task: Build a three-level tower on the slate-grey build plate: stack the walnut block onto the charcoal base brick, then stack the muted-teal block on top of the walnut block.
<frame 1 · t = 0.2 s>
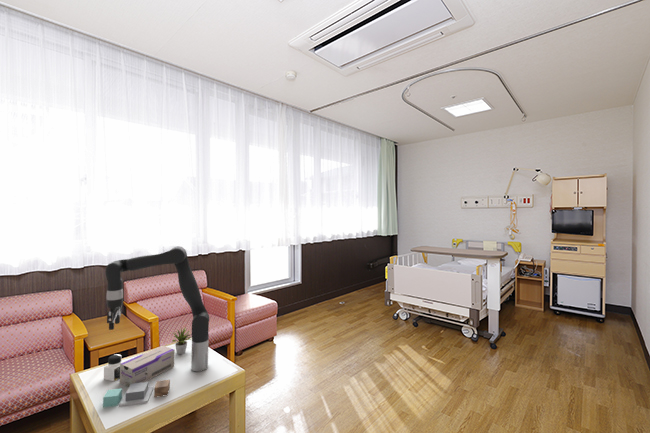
hand: (114, 326, 166), 29 cm above the table, fingers open, 8 cm apart
teal block: (112, 402, 147), on the table
surgical sutures box: (148, 375, 172), on the table
medicine bottle: (114, 377, 168), on the table
house plant: (179, 353, 197), on the table
build plate: (137, 396, 152), on the table
walnut block: (162, 393, 156), on the table
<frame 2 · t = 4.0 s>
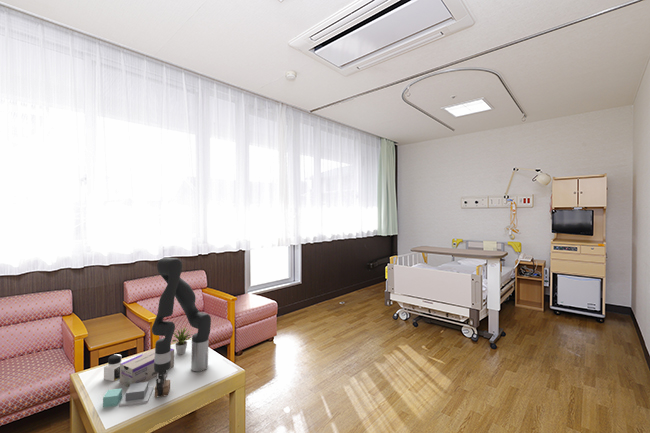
hand: (161, 391, 156), 1 cm above the table, fingers closed on walnut block, 6 cm apart
walnut block: (162, 392, 156), on the table, touching gripper
everything else where it was.
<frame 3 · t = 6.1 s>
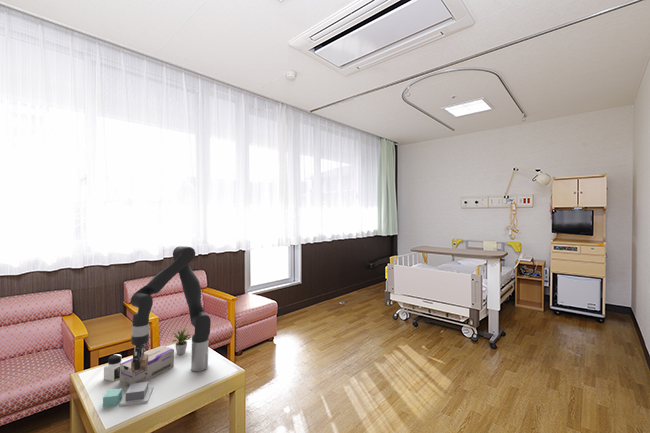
hand: (138, 365, 151), 16 cm above the table, fingers closed on walnut block, 6 cm apart
walnut block: (139, 367, 151), point 15 cm above the table, touching gripper
everything else where it was.
when the fingers open (7 cm above the table, at t = 8.4 s): walnut block stays where it is, resting on build plate.
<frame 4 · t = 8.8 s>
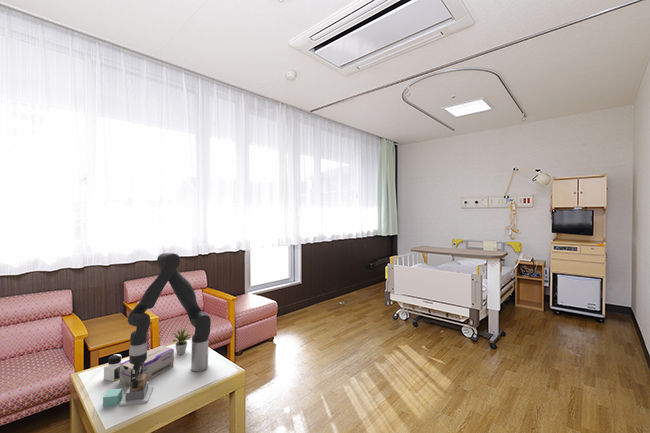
hand: (137, 383, 152), 7 cm above the table, fingers open, 8 cm apart
walnut block: (138, 387, 152), point 5 cm above the table, touching build plate
everything else where it was.
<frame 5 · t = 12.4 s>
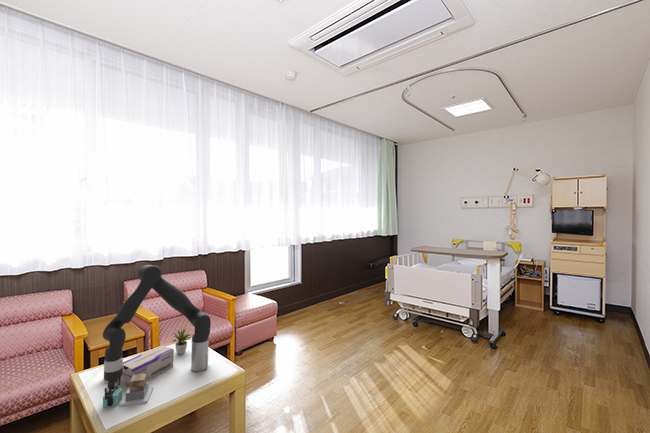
hand: (112, 400, 147), 1 cm above the table, fingers closed on teal block, 6 cm apart
teal block: (112, 402, 147), on the table, touching gripper
everything else where it was.
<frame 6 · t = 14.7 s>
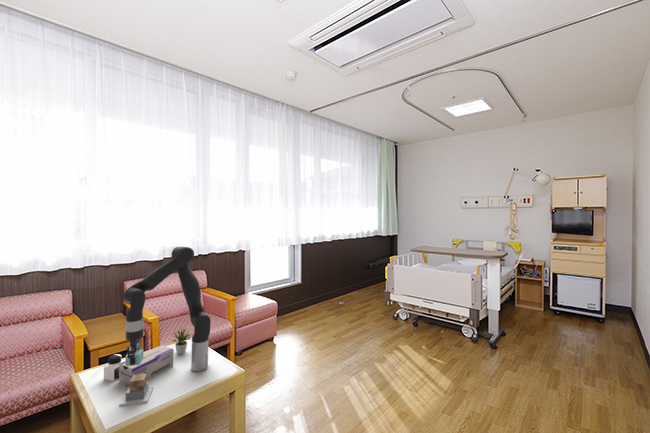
hand: (134, 360, 151), 19 cm above the table, fingers closed on teal block, 6 cm apart
teal block: (134, 362, 151), point 18 cm above the table, touching gripper
everything else where it was.
when the fingers open (12 cm above the table, at t = 17.3 s): teal block stays where it is, resting on walnut block.
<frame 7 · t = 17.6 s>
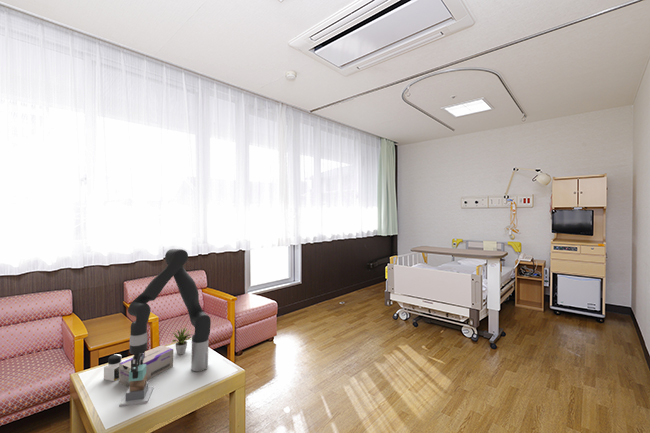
hand: (137, 373, 151), 12 cm above the table, fingers open, 8 cm apart
teal block: (137, 377, 151), point 10 cm above the table, touching walnut block
walnut block: (138, 387, 152), point 5 cm above the table, touching build plate, teal block
everything else where it was.
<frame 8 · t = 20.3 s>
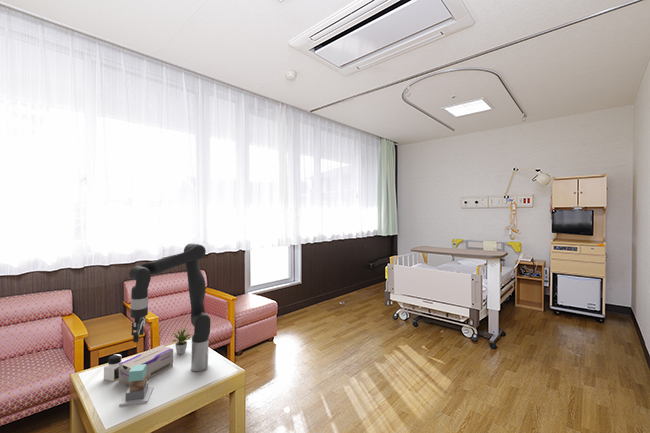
hand: (138, 338, 151), 30 cm above the table, fingers open, 8 cm apart
at the end: walnut block 0.3 cm off-centre on the build plate, point 5.0 cm above the build plate's base; teal block 0.0 cm off-centre on the build plate, point 10.0 cm above the build plate's base; teal block tilted 0° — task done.
